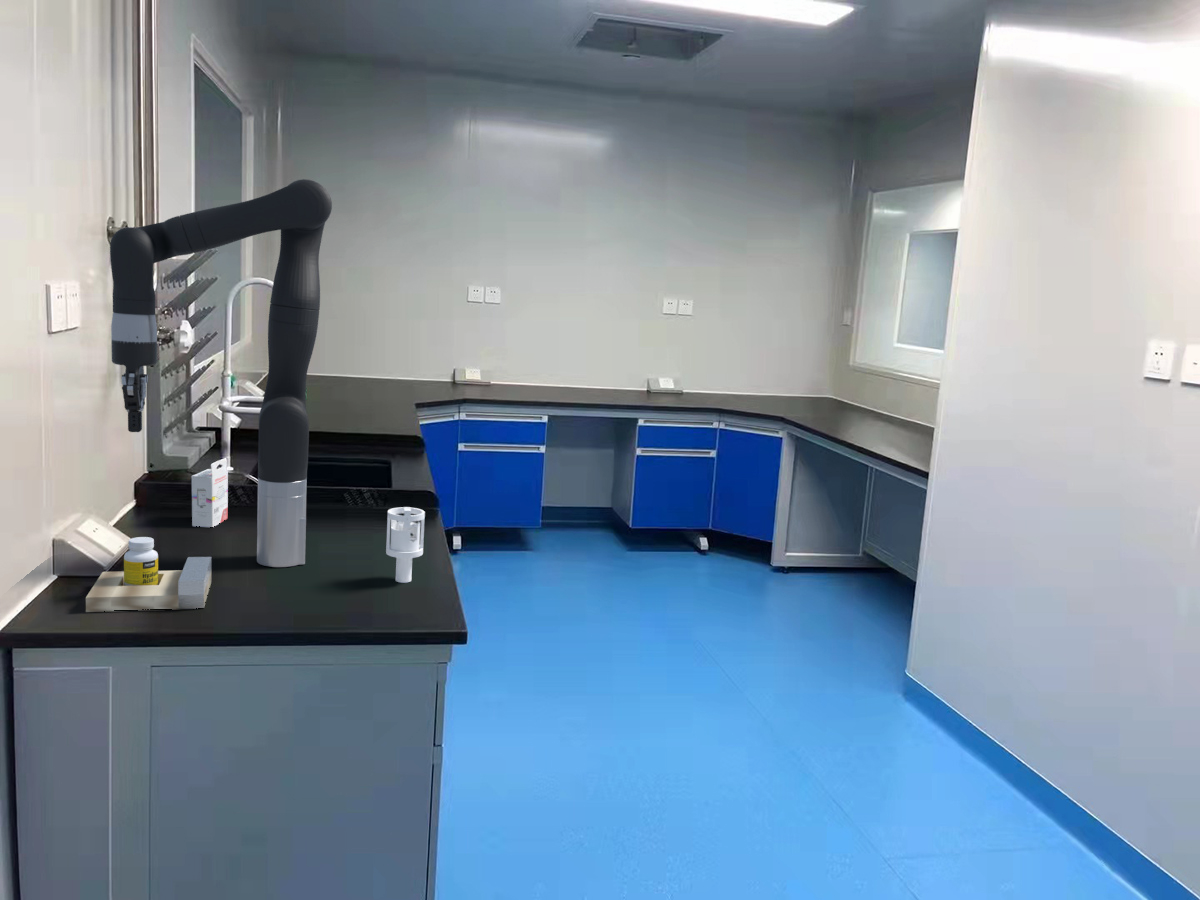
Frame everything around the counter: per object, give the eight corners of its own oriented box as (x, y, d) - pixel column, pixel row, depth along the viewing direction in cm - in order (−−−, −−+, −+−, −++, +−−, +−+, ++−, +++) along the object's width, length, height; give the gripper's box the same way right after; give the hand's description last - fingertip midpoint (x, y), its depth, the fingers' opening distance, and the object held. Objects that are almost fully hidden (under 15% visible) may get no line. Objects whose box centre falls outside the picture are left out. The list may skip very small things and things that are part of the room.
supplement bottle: (144, 600, 161) (144, 545, 159) (117, 595, 162) (116, 541, 160) (164, 590, 166) (164, 537, 164) (138, 586, 167) (137, 534, 165)
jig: (211, 582, 172) (211, 556, 171) (203, 608, 159) (203, 580, 158) (102, 585, 166) (102, 558, 166) (86, 612, 153) (85, 583, 152)
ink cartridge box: (207, 517, 216) (207, 455, 214) (228, 519, 216) (228, 457, 214) (190, 526, 208) (190, 462, 205) (212, 528, 208) (212, 463, 205)
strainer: (385, 586, 178) (388, 510, 175) (384, 574, 184) (387, 501, 182) (423, 585, 180) (426, 510, 177) (420, 574, 186) (423, 501, 184)
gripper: (152, 342, 166) (153, 437, 169) (160, 337, 178) (161, 426, 181) (105, 340, 163) (106, 437, 166) (117, 335, 176) (118, 425, 179)
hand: (135, 431), depth 174 cm, fingers closed
